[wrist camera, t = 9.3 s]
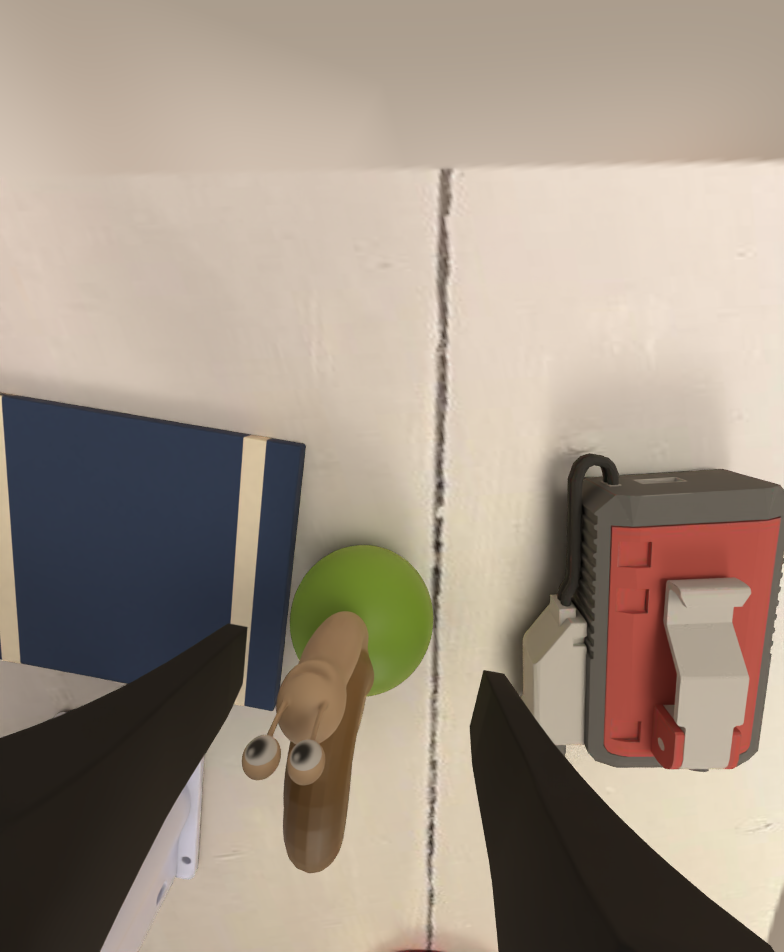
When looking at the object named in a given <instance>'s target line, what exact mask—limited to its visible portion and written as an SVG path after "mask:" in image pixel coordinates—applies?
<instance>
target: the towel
mask: <svg viewBox="0 0 784 952" xmlns="http://www.w3.org/2000/svg"><path fill="white" fill-rule="evenodd" d="M305 448H306V446H305V444H303V443H297V442H291V441H285V440H279V439H273V438H268V437H262V436H256V435H249V434H243V433H238V432H232V431H226V430H220V429H214V428H208V427H202V426H196V425H190V424H184V423H178V422H172V421H166V420H160V419H154V418H148V417H142V416H137V415H131V414H125V413H119V412H113V411H107V410H101V409H95V408H89V407H83V406H77V405H71V404H65V403H59V402H53V401H47V400H41V399H35V398H30V397H24V396H18V395H12V394H6V393H0V659H1V660H3V661H9V662H14V663H19V664H20V663H22V664H27V665H32V666H38V667H43V668H48V669H54V670H59V671H64V672H69V673H75V674H80V675H85V676H90V677H96V678H101V679H106V680H111V681H117V682H122V683H127V684H129V683H131V682H133V681H134V680H136V679H138V678H140V677H141V676H143V675H145V674H147V673H148V672H150V671H152V670H154V669H155V668H157V667H159V666H161V665H163V664H164V663H166V662H168V661H169V660H171V659H173V658H174V657H176V656H177V655H179V654H181V653H182V652H184V651H185V650H187V649H189V648H190V647H192V646H193V645H195V644H196V643H198V642H200V641H201V640H203V639H204V638H206V637H207V636H209V635H210V634H212V633H214V632H215V631H217V630H218V629H220V628H221V627H223V626H225V625H226V624H228V623H229V624H235V625H240V626H246V627H248V629H247V641H246V653H245V665H244V678H243V685H242V687H241V689H240V691H239V694H238V696H237V698H236V700H235V702H234V704H235V705H240V706H248V707H253V708H259V709H264V710H269V711H273V710H274V708H275V706H276V704H277V697H278V693H279V689H280V680H281V671H282V662H283V652H284V643H285V634H286V624H287V615H288V606H289V597H290V587H291V578H292V569H293V559H294V550H295V541H296V532H297V522H298V513H299V504H300V494H301V485H302V476H303V467H304V457H305Z"/></svg>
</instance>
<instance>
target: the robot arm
mask: <svg viewBox="0 0 784 952" xmlns="http://www.w3.org/2000/svg"><path fill="white" fill-rule="evenodd" d="M247 629H248V627H246V626H240V625H235V624H229V623H228V624H226V625H225V626H223V627H221V628H220V629H218V630H217V631H215V632H214V633H212V634H210V635H209V636H207V637H206V638H204V639H203V640H201V641H200V642H198V643H196V644H195V645H193V646H192V647H190V648H189V649H187V650H185V651H184V652H182V653H181V654H179V655H177V656H176V657H174V658H173V659H171V660H169V661H168V662H166V663H164V664H163V665H161V666H159V667H157V668H155V669H154V670H152V671H150V672H148V673H147V674H145V675H143V676H141V677H140V678H138V679H136V680H134V681H133V682H131V683H129V684H127V685H125V686H123V687H121V688H119V689H117V690H115V691H113V692H111V693H109V694H107V695H105V696H103V697H101V698H99V699H96V700H94V701H92V702H90V703H88V704H86V705H84V706H81V707H79V708H77V709H74V710H72V711H69V712H59V713H58V714H57V715H55V716H54V717H53V718H52V719H50V720H47V721H45V722H43V723H40V724H38V725H35V726H32V727H30V728H27V729H24V730H22V731H19V732H16V733H13V734H11V735H8V736H5V737H2V738H0V952H138V951H139V949H140V947H141V945H142V943H143V941H144V939H145V937H146V935H147V933H148V931H149V929H150V927H151V925H152V923H153V921H154V919H155V917H156V915H157V913H158V911H159V909H160V907H161V905H162V903H163V901H164V899H165V897H166V895H167V893H168V891H169V889H170V887H171V885H172V883H173V881H174V879H175V877H177V878H182V879H191V878H193V877H194V876H195V873H196V871H197V869H198V856H199V838H200V821H201V804H202V786H203V769H204V755H205V753H206V752H207V750H208V748H209V747H210V745H211V743H212V742H213V740H214V738H215V737H216V735H217V734H218V732H219V730H220V729H221V727H222V725H223V724H224V722H225V720H226V719H227V717H228V715H229V713H230V711H231V709H232V706H233V704H234V702H235V700H236V698H237V696H238V694H239V691H240V689H241V687H242V685H243V678H244V665H245V653H246V641H247ZM470 739H471V755H472V766H473V772H474V778H475V784H476V790H477V796H478V801H479V807H480V813H481V818H482V824H483V830H484V835H485V841H486V847H487V852H488V858H489V865H490V872H491V879H492V887H493V897H494V907H495V918H496V928H497V939H498V951H499V952H774V950H773V949H772V947H771V946H770V945H769V944H768V943H766V942H765V941H764V940H762V939H761V938H760V937H759V936H757V935H756V934H755V933H753V932H752V931H751V930H750V929H748V928H747V927H746V926H744V925H743V924H742V923H741V922H739V921H738V920H737V919H735V918H734V917H733V916H732V915H730V914H729V913H728V912H726V911H725V910H724V909H723V908H721V907H720V906H719V905H717V904H716V903H715V902H714V901H712V900H711V899H710V898H709V897H707V896H706V895H705V894H704V893H702V892H701V891H700V890H699V889H698V888H697V887H695V886H694V885H693V884H692V883H691V882H690V881H688V880H687V879H686V878H685V877H684V876H683V875H681V874H680V873H679V872H678V871H677V870H676V869H674V868H673V867H672V866H671V865H670V864H669V863H668V862H666V861H665V860H664V859H663V858H662V857H661V856H660V855H659V854H658V853H656V852H655V851H654V850H653V849H652V848H651V847H650V846H649V845H648V844H647V843H646V842H645V841H643V840H642V839H641V838H640V837H639V836H638V835H637V834H636V833H635V832H634V831H633V830H632V829H631V828H630V827H629V826H628V825H627V824H626V823H625V822H624V821H623V820H622V819H621V818H620V817H619V816H618V815H617V814H616V813H615V812H614V811H613V810H612V809H611V808H610V807H609V806H608V805H607V804H606V803H605V802H604V801H603V800H602V799H601V798H600V796H599V795H598V794H597V793H596V792H595V791H594V790H593V789H592V788H591V787H590V786H589V785H588V784H587V782H586V781H585V780H584V779H583V778H582V777H581V776H580V774H579V773H578V772H577V771H576V770H575V769H574V767H573V766H572V765H571V764H570V763H569V761H568V760H567V759H566V758H565V756H564V755H563V754H562V753H561V752H560V750H559V749H558V748H557V747H556V745H555V744H554V743H553V741H552V740H551V739H550V738H549V736H548V735H547V734H546V732H545V731H544V730H543V728H542V727H541V726H540V724H539V723H538V721H537V720H536V719H535V717H534V716H533V715H532V713H531V712H530V710H529V709H528V707H527V706H526V705H525V703H524V702H523V700H522V699H521V697H520V696H519V695H518V693H517V692H516V690H515V689H514V687H513V686H512V684H511V683H510V682H509V680H508V679H507V677H506V676H505V674H502V673H496V672H491V671H486V670H484V671H483V675H482V679H481V683H480V687H479V691H478V695H477V699H476V703H475V707H474V711H473V716H472V720H471V724H470Z"/></svg>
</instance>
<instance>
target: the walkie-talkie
mask: <svg viewBox="0 0 784 952" xmlns="http://www.w3.org/2000/svg"><path fill="white" fill-rule="evenodd" d="M594 465H596V466H600V467H601V470H602V473H603V477H591V478H585V479H584V476H585V473H586V471H587V470H588V469H589V467H591V466H594ZM583 479H584V480H583ZM783 556H784V489H783V488H782V487H781V485H778V484H775V483H771V482H768V481H764V480H760V479H757V478H753V477H750V476H746V475H742V474H739V473H735V472H732V471H728V470H724V469H714V470H699V471H683V472H668V473H653V474H637V475H622V476H619V473H618V471H617V468H616V466H615V464H614V463H613V462H612V461H611V460H610V459H609V458H607V457H604V456H601V455H596V454H590V453H589V454H586V455H583V456H580V457H579V458H578V459H577V460H576V461H575V462H574V463H573V465H572V468H571V471H570V474H569V476H568V510H567V569H566V574H565V578H564V580H563V582H562V583H561V585H560V587H559V590H558V594H557V595H550V604H549V605H548V606H547V607H546V608H545V610H544V611H543V612H542V613H541V614H540V616H539V617H538V618H537V619H536V621H535V622H534V623H533V624H532V625H531V627H530V628H529V629H528V630H527V631H526V633H525V634H524V637H523V695H522V696H521V699H522V700H523V702H524V703H525V705H526V706H527V707H528V709H529V710H530V712H531V713H532V715H533V716H534V717H535V719H536V720H537V721H538V723H539V724H540V726H541V727H542V728H543V730H544V731H545V732H546V734H547V735H548V736H549V738H550V739H551V740H552V741H553V743H554V744H555V745H556V747H557V748H558V749H559V750H560V752H561V753H562V754H563V755H564V756H565V753H566V745H585V747H586V749H587V751H588V753H589V754H590V755H591V756H592V757H593V758H594V760H595V761H598V762H601V763H604V764H607V765H610V766H613V767H617V768H625V767H664V768H665V769H689V770H693V771H700V772H706V771H708V770H709V769H733V768H735V767H737V766H739V765H740V764H742V763H744V762H746V761H747V760H749V759H750V758H751V757H752V756H753V755H754V754H755V753H756V752H757V751H758V746H759V739H760V732H761V725H762V718H763V711H764V704H765V697H766V690H767V682H768V675H769V668H770V661H771V654H770V649H771V646H772V645H773V641H772V634H773V633H774V632H775V628H774V620H775V619H776V618H777V615H776V614H775V613H776V607H777V606H778V603H779V601H778V600H777V599H778V593H779V592H780V589H781V587H779V584H780V579H781V578H782V575H783V573H782V572H781V570H782V564H783V563H784V558H783Z"/></svg>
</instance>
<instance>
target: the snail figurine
mask: <svg viewBox="0 0 784 952" xmlns="http://www.w3.org/2000/svg"><path fill="white" fill-rule="evenodd" d="M432 629H433V609H432V603H431V599H430V595H429V592H428V590H427V587H426V585H425V583H424V581H423V580H422V578H421V576H420V575H419V573H418V572H417V571H416V570H415V568H414V567H413V566H412V565H411V564H410V563H409V562H407V561H406V560H405V559H404V558H402V557H401V556H399V555H398V554H396V553H394V552H392V551H390V550H387V549H385V548H381V547H377V546H371V545H356V546H349V547H345V548H342V549H339V550H337V551H334V552H332V553H330V554H329V555H327V556H325V557H324V558H322V559H321V560H320V561H318V562H317V563H316V564H315V565H314V566H313V567H312V568H311V569H310V570H309V571H308V573H307V574H306V575H305V577H304V578H303V580H302V581H301V583H300V585H299V587H298V589H297V591H296V593H295V596H294V599H293V603H292V607H291V613H290V632H291V638H292V643H293V646H294V649H295V652H296V654H297V657H298V659H299V660H300V661H299V664H298V665H296V666H295V667H294V668H293V669H292V670H291V671H290V672H289V673H288V675H287V676H286V677H285V679H284V681H283V683H282V685H281V687H280V690H279V693H278V697H277V704H276V713H277V714H276V716H275V719H274V721H273V723H272V725H271V727H270V729H269V731H268V734H267V735H261V736H258V737H256V738H254V739H253V740H252V741H251V742H250V743H249V744H248V745H247V746H246V748H245V750H244V752H243V756H242V767H243V770H244V772H245V774H246V775H247V776H248V777H249V778H251V779H253V780H263V779H265V778H267V777H269V776H270V775H271V774H272V773H273V772H274V771H275V770H276V768H277V767H278V765H279V762H280V758H281V749H280V745H279V743H278V741H277V740H276V739H275V738H274V737H273V734H274V731H275V728H276V726H277V724H278V723H279V726H280V728H281V730H282V732H283V733H284V735H285V736H286V737H287V738H288V739H289V740H290V746H289V752H288V757H287V764H286V771H285V780H284V816H283V834H284V842H285V846H286V850H287V854H288V857H289V859H290V860H291V862H292V863H293V864H294V865H295V867H296V868H298V869H300V870H302V871H305V872H307V873H315V872H320V871H322V870H324V869H325V868H326V867H328V866H329V865H330V864H331V863H332V862H333V861H334V859H335V858H336V856H337V854H338V853H339V850H340V848H341V844H342V841H343V836H344V831H345V824H346V817H347V809H348V800H349V791H350V780H351V769H352V760H353V754H354V748H355V742H356V736H357V733H358V729H359V726H360V722H361V718H362V714H363V710H364V705H365V700H366V696H373V695H377V694H381V693H384V692H386V691H388V690H390V689H392V688H394V687H396V686H398V685H399V684H401V683H402V682H403V681H404V680H406V679H407V678H408V677H409V676H410V675H411V674H412V673H413V672H414V671H415V669H416V668H417V667H418V665H419V664H420V662H421V661H422V659H423V657H424V655H425V653H426V651H427V649H428V646H429V643H430V639H431V635H432Z"/></svg>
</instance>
